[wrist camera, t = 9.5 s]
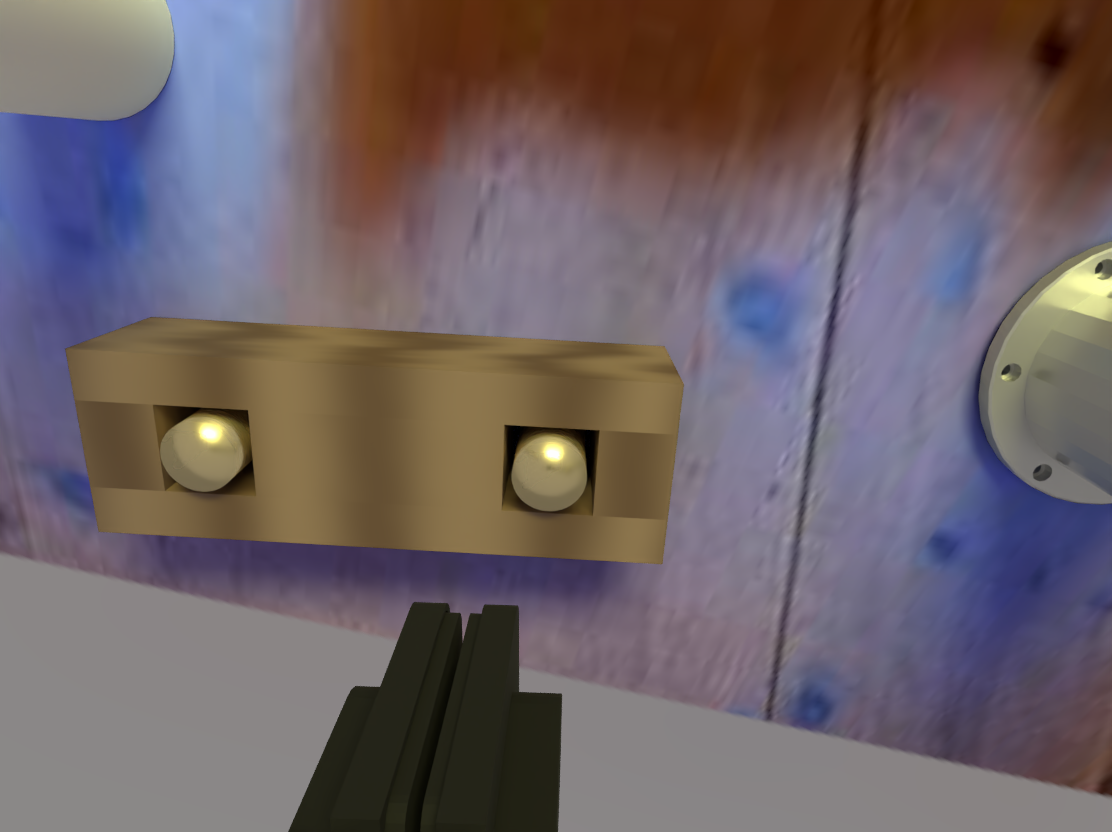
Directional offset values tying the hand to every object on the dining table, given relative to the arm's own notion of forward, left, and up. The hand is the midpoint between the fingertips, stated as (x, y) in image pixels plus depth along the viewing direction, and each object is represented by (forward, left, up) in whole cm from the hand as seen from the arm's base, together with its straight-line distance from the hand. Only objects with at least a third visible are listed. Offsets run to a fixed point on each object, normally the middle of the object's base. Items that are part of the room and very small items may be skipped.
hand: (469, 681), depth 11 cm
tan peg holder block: (+6, +4, -23) cm, 24 cm away
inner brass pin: (-1, +4, -23) cm, 23 cm away
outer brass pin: (+13, +4, -23) cm, 26 cm away
